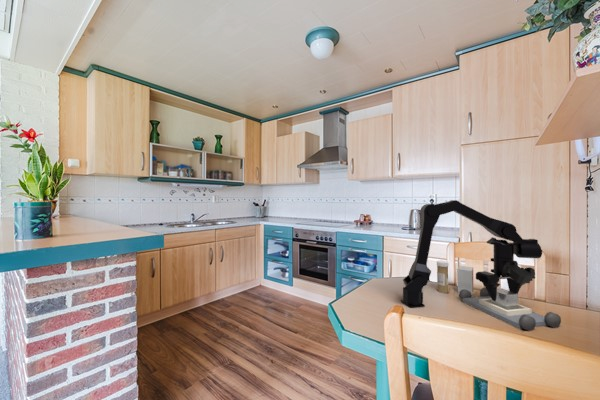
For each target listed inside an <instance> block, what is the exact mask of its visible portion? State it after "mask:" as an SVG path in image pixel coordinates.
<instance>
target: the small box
mask: <svg viewBox="0 0 600 400" xmlns="http://www.w3.org/2000/svg"><path fill="white" fill-rule="evenodd" d="M456 270H457V273H456V275H457V277H456V278H457V279H456V280H457V293H458V294H459V293H460V291H461V290H463V289H465V290H468V291H470V292H471V295H472V296H473V294H474V267H473V266H465V265H459V266H458V268H457V269H456Z"/></svg>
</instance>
